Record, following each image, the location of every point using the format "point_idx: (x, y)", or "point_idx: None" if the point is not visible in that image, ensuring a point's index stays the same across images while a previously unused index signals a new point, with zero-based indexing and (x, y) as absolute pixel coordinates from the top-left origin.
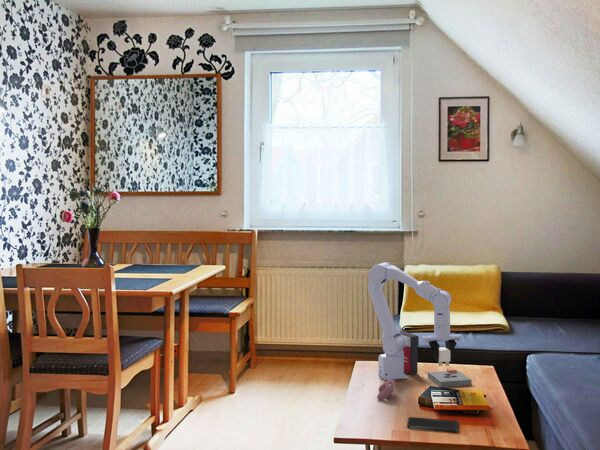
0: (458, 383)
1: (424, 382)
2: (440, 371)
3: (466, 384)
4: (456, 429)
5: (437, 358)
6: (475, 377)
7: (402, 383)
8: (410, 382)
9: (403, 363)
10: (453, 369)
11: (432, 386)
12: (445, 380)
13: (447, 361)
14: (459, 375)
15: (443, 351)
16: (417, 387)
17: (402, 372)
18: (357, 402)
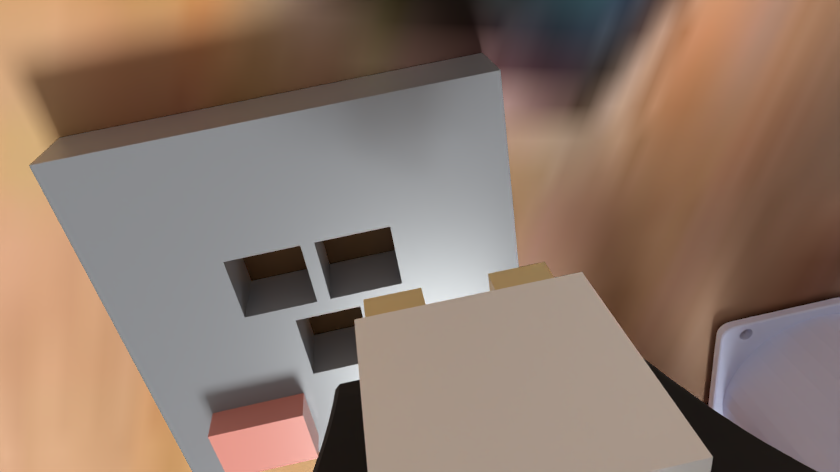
0: (239, 111)
1: (602, 226)
2: None
3: (128, 125)
4: None
5: None
6: (2, 392)
7: (829, 194)
8: (739, 224)
9: (833, 459)
10: (244, 450)
11: (568, 91)
12: (419, 128)
13: (419, 306)
14: (191, 321)
15: (593, 468)
16: (748, 59)
17: (790, 371)
18: None
